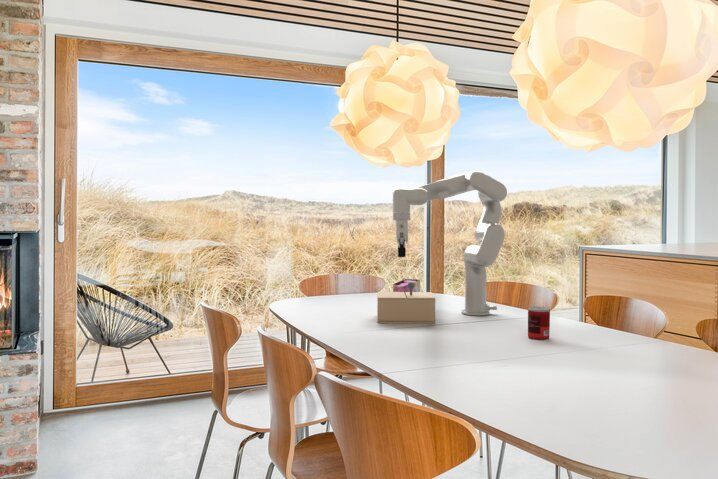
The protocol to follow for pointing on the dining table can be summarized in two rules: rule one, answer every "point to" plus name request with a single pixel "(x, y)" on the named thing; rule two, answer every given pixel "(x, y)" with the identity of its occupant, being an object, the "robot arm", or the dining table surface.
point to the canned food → (538, 323)
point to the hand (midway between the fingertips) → (401, 256)
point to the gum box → (403, 287)
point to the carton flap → (418, 293)
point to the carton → (404, 309)
